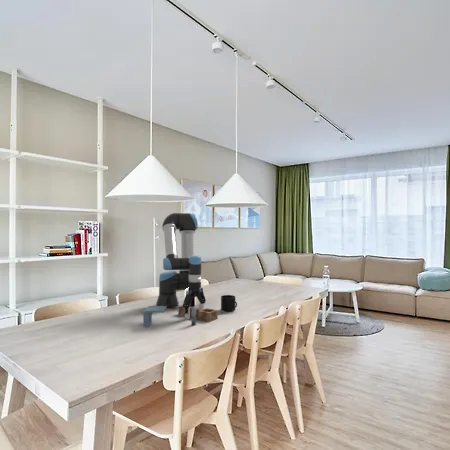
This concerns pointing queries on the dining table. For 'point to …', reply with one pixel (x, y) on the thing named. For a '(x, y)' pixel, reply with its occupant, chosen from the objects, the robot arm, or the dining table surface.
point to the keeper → (148, 314)
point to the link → (201, 313)
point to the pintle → (193, 315)
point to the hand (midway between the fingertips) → (194, 316)
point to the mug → (228, 303)
